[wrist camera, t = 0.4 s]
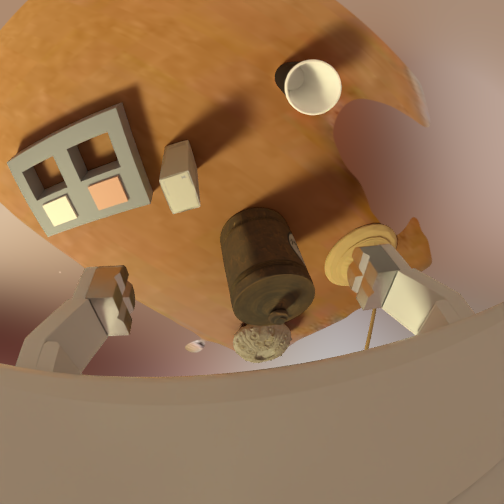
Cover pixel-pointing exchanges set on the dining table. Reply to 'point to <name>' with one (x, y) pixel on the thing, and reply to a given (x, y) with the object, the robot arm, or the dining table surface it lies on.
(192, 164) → the skincare box
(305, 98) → the dixie cup
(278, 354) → the decorative shell
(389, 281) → the robot arm
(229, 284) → the brown metal canister
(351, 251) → the desk lamp
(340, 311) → the dining table surface
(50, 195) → the socket plate
